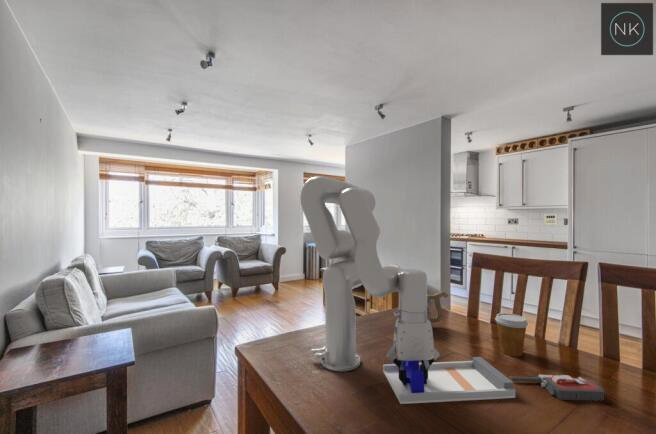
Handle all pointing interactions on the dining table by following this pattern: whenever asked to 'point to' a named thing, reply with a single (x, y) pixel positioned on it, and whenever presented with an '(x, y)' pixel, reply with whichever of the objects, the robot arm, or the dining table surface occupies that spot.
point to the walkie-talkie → (568, 387)
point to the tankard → (437, 305)
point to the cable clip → (414, 377)
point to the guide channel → (454, 382)
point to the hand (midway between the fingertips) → (413, 381)
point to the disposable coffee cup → (511, 333)
